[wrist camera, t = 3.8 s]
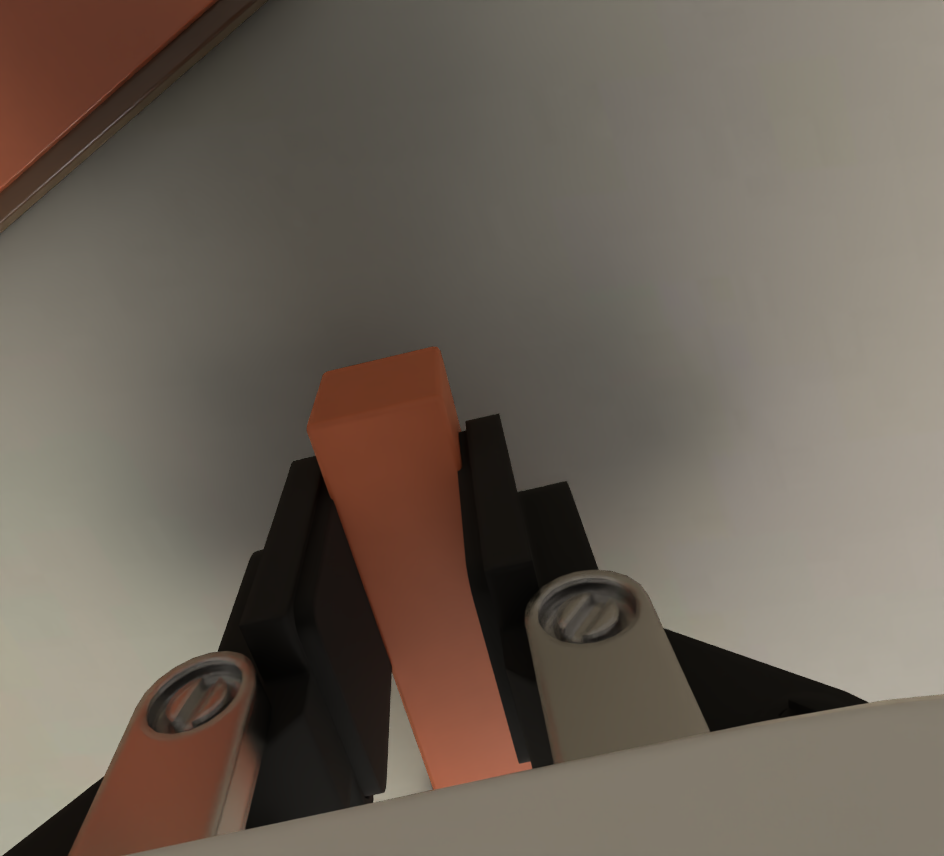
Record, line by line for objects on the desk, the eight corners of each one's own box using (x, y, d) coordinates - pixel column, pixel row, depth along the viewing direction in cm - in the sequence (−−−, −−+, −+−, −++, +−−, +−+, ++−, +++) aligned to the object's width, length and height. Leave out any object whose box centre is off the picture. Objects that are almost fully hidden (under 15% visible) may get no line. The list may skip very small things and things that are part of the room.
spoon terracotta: (231, 391, 12) (191, 459, 10) (531, 320, 11) (555, 374, 9) (449, 950, 18) (453, 1063, 16) (648, 909, 17) (678, 1018, 15)
